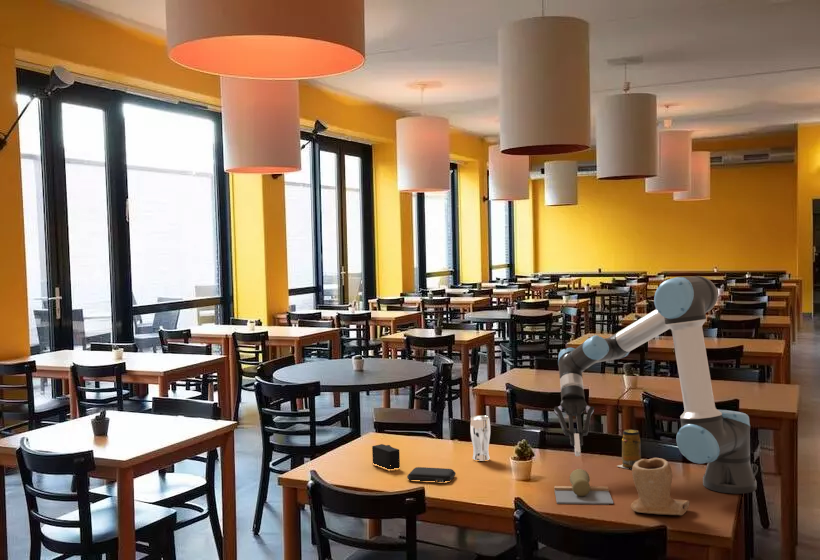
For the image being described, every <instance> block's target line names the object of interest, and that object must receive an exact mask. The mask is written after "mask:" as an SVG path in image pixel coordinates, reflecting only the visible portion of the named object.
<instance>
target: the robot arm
mask: <svg viewBox="0 0 820 560" xmlns="http://www.w3.org/2000/svg"><path fill="white" fill-rule="evenodd" d="M653 296H654V298H653V299H654V300H653V304H654V307H655V309H654V310H652V311H650V312H649V313H647V314H646V315H643V316H642V317H641V318H639V319H637V320H635V321H634V322H632V323H631V324H629V325H627V326H626V327H624V328H622V329H621V330H619V331H617V332H616V333H614V334H613V335H611V336H609V337H605V338H604V337H602V336H600V335H597V334H595V335H592V336H591V337H589V338H587V339H586V340H585V341H584V342H582V343H581V344H580V345H578V346H577V347H576V348H574V347H567V348H563V349H561V350H560V351H559V353H558V359H557V365H558V372H559V373H558V375H559V386H560V398H561V399H560V400H561V401H560V405H559V406H554V408H553V410H554V411H553V413H554V414H555V415H556V417H557V419H558V422H559V424H560V427H561V430H562V432H563V435H564V436H567V437H569V439H570V440H569V441H570V446H571V447H572V446H573V447H574V456H575V457H581V453H582V452H581V446H583V445H584V438H583V437H584V436H586V437H587V436H588V435H589V428H590V423H591V417H592V415H593V414H594V413H595V412H594V410H595V407H594V406H593V405H591V406H590V405H588V403H587V402H586V398H585V391H584V390H585V389H584V388H585V387H584V381H583V380H584V378H583V372H585V371H586V370H587V369H589V368H590V367H591V366H593V365H595V364H596V363H597V364H598V363H602V362H608V361H612V360H620V359H623V358H625V357H627V356H629V354H630V352H631V351H633V350H635V349H636V348H638V347H640V346H642V345H644V344H645V343H647V342H649V341H651V340H653V339H654V338H656V337H658V336H660V335H661V334H663V333H665V332H666V331H668V330H670V331H671V334H672V340H673V346H674V353H675V360H676V365H677V372H678V378H679V383H680V390H681V391H680V392H681V395H682V396H681V398H682V401H683V402H682V403H683V408H684V409H683V410H684V411H683V413H682V414H681V415H680V416H679V417H680V418H679V419H680V425H681V427H680V428H679V429H678V431H677V433H676V441H675V442H676V446H677V448H678V450H679V452H680V453H681V455H682V456H684V457H685V458H686V459H687V460H688V461H690V462H692V463H694V464H700V465H701V464H706V467H705V468H706V469H705V472H704V474H703V476H702V485H703V487H704V488H706V489H709V490H711V491H714V492H719V493H724V494H725V493H726V494H735V495H736V494H737V495H738V494H740V495H741V494H749V493H754V492H755V491H757V489H758V488H757V487H758V486H757V483H758V482H757V480H756V477H755V473H754V470H753V467H752V465H751V434H750V433H751V424H750V416H749V415H748V414H746V413H744V412H742V411H741V412H740V411H735V410H727V409H717V407H716V404H715V397H714V390H713V387H712V386H713V385H712V379H711V373H710V367H709V366H710V365H709V362H708V356H707V349H706V344H705V337H704V330H703V325H704V324H705V323H706V321H707V316H706V313H708V312H710V311H711V310H713V308H714V307H715V306H716V304H717V302H718V297H719V294H718V289H717V287H716V285H715V284H714V283H713V281H711V280H710V278H709V279H708V278H707V277H705V276H700V275H693V276H676V277H673V278H669V279H666V280H664V281H663V282H661V283H660V284H659V286H658V287H657V288H656V290H655V292H654V295H653ZM563 412H564V413H565V414H566V415H567V418H568V426H567V423H566V420H565V417H564V414H563ZM584 412H585V413H586V418H585V424H584V429H583V426H582V423H583V422H582V414H583V413H584ZM574 417H576V427H577V433H576V432H575V428H574Z"/></svg>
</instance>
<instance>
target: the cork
mask: <svg viewBox="0 0 820 560" xmlns="http://www.w3.org/2000/svg"><path fill="white" fill-rule="evenodd" d="M590 479H591V478H590V475H589V472H588V471H586V470H585V469H583V468H577V469H574V470H572V471H571V473H570V475H569V482H570V484H571V486H572V489H573V492H574V493H575V494H576V495H577V496H582V497H583V496H586V495H587V494H588V493H589V491H590V486H591V485H590Z"/></svg>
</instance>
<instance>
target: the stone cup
mask: <svg viewBox="0 0 820 560" xmlns="http://www.w3.org/2000/svg"><path fill="white" fill-rule="evenodd" d="M631 471H632V479H633V484H634V486H635V489H636V491H637V494H638V498H637V499H634V500H633V501H632V503H631V504H630V508H631V509H632V510H633V512H636V513H642V514H648V515H649V514H650V515H653V514H654V515H664V516H665V515H667V516H683V515H684V514H685V513H687V510H689V506H690V500H686V499H675V498H672V496H671V489H672V482H673V470H672V467H671V464H670V463H669V462H668V461H667V460H666V459H664V458H661V457H660V458H659V457H652V458H649V459H647V458H641V460H639V461H637V462H635V463H634V465H633V467H632V469H631Z"/></svg>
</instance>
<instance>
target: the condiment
mask: <svg viewBox="0 0 820 560" xmlns="http://www.w3.org/2000/svg"><path fill="white" fill-rule="evenodd" d="M622 434H623V435H622V439H621V460H622V461H621V463H622V464H618V465H617V467H619V468H621V469H622V468H623V469H629V468H630V469H629V470H632V467H633V465H634V463H635V462H637V461H639V460H641V459H642V452H641V451H642V450H641V449H642V448H641V447H642V446H641V445H642V444H641V443H642V442H641V439H640V431H639V430H637V429H624V430H623V431H622Z"/></svg>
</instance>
